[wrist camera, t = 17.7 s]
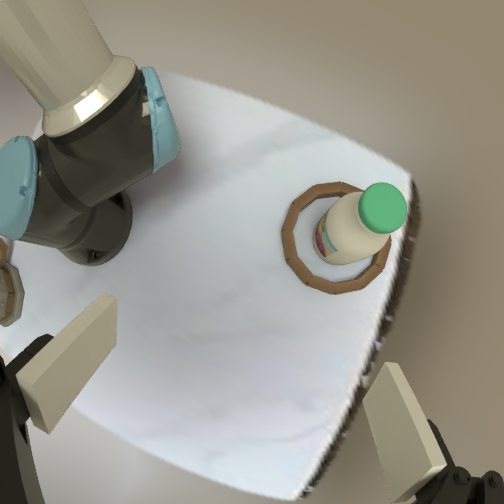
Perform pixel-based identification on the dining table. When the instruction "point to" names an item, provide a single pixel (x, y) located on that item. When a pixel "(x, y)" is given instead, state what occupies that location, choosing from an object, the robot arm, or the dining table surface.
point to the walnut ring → (298, 265)
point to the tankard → (9, 290)
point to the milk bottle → (359, 224)
